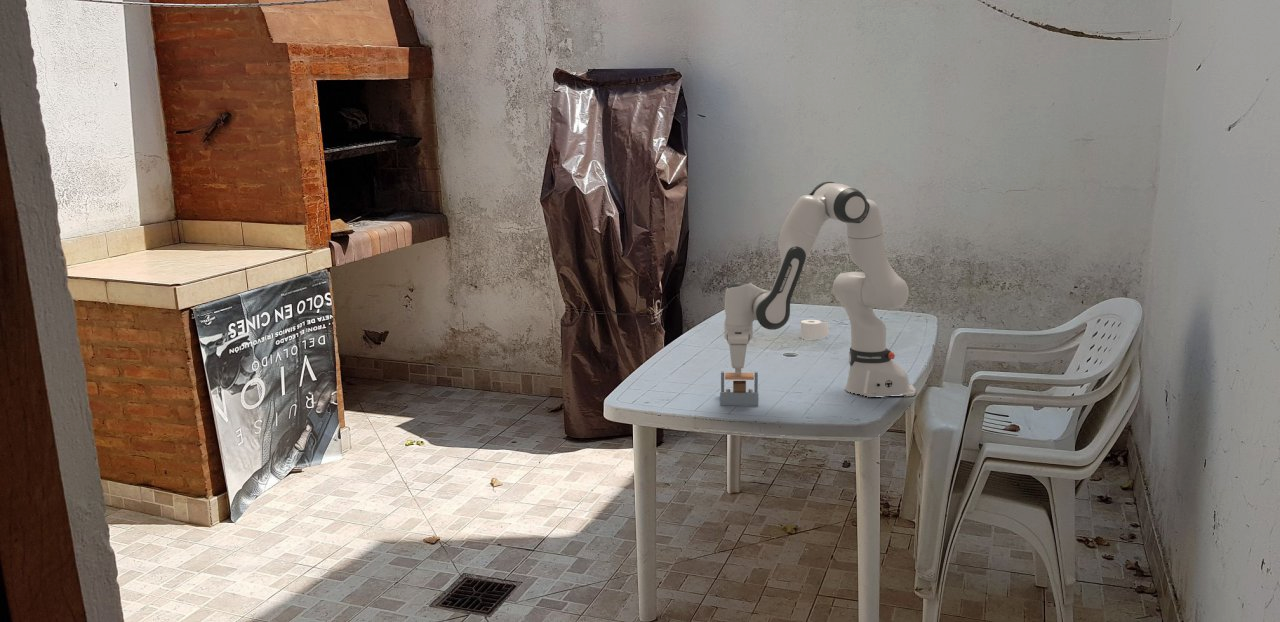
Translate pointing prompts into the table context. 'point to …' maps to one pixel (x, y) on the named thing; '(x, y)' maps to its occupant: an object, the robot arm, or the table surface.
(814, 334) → the toilet paper
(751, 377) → the lid
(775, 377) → the table surface
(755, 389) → the housing base
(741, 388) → the block
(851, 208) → the robot arm
